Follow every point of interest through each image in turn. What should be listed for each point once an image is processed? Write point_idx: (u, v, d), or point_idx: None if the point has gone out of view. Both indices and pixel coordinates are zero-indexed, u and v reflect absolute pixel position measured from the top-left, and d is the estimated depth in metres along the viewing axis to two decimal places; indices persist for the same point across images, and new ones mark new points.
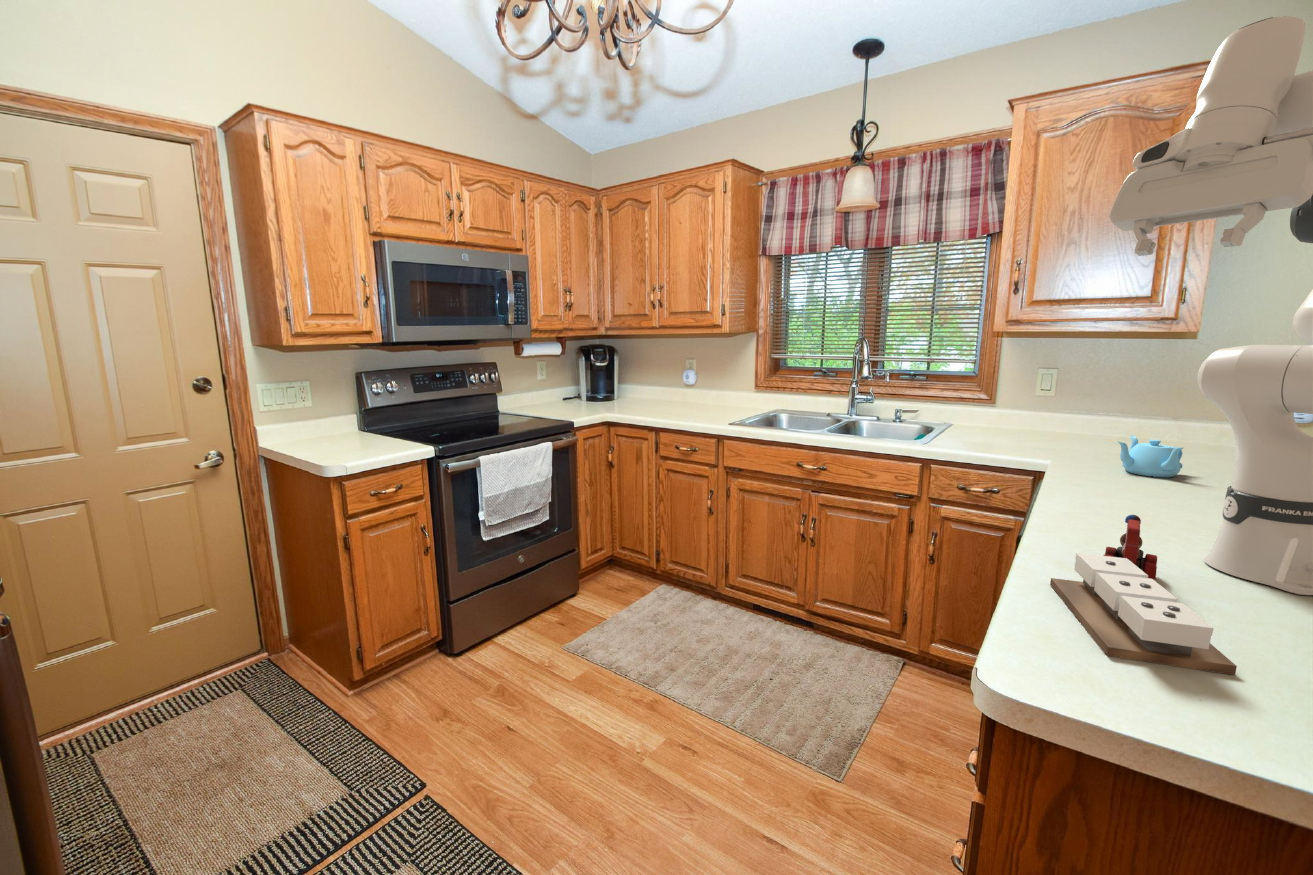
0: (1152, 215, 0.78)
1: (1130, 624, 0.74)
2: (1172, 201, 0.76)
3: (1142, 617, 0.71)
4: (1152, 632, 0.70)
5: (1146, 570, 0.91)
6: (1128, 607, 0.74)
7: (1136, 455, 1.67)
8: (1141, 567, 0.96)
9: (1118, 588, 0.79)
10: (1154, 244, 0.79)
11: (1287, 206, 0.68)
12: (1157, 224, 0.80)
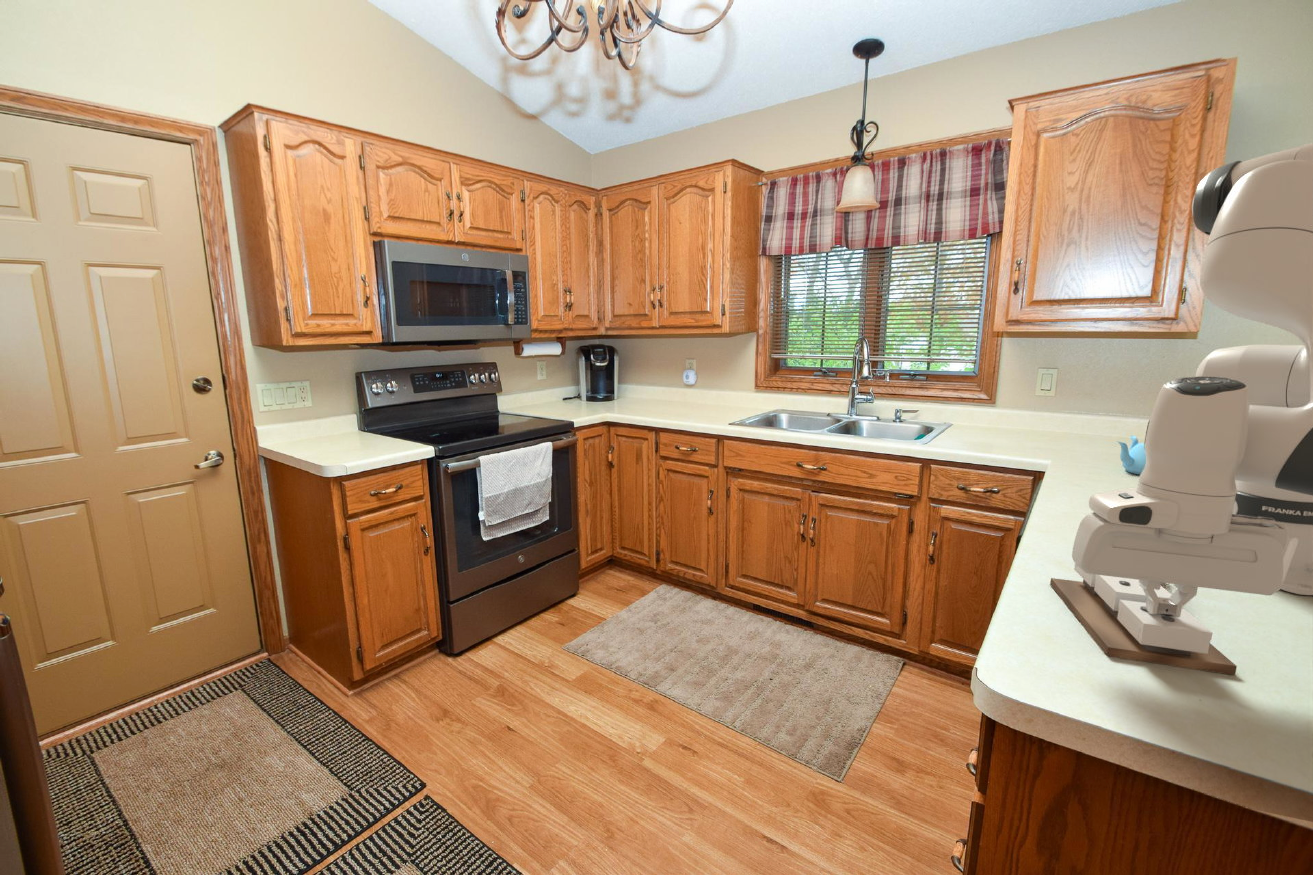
0: (1133, 578, 0.71)
1: (1129, 628, 0.74)
2: (1154, 569, 0.70)
3: (1141, 621, 0.71)
4: (1151, 636, 0.70)
5: None
6: (1127, 611, 0.74)
7: (1136, 455, 1.67)
8: None
9: (1118, 588, 0.79)
10: None
11: None
12: None
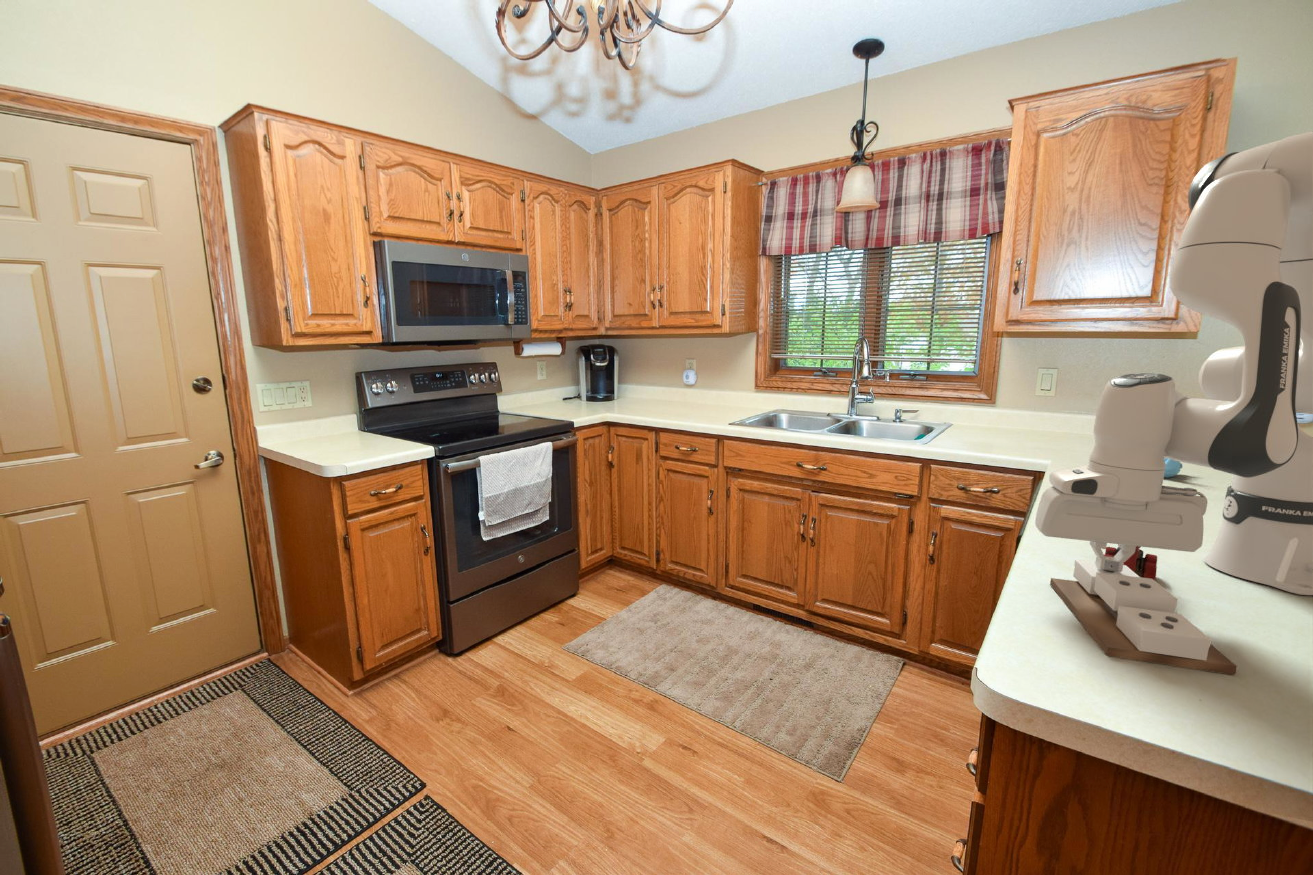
0: (1083, 539, 0.86)
1: (1128, 635, 0.74)
2: (1100, 532, 0.85)
3: (1140, 628, 0.71)
4: (1150, 643, 0.70)
5: (1146, 570, 0.91)
6: (1126, 617, 0.74)
7: None
8: (1141, 567, 0.96)
9: (1118, 588, 0.79)
10: None
11: None
12: None
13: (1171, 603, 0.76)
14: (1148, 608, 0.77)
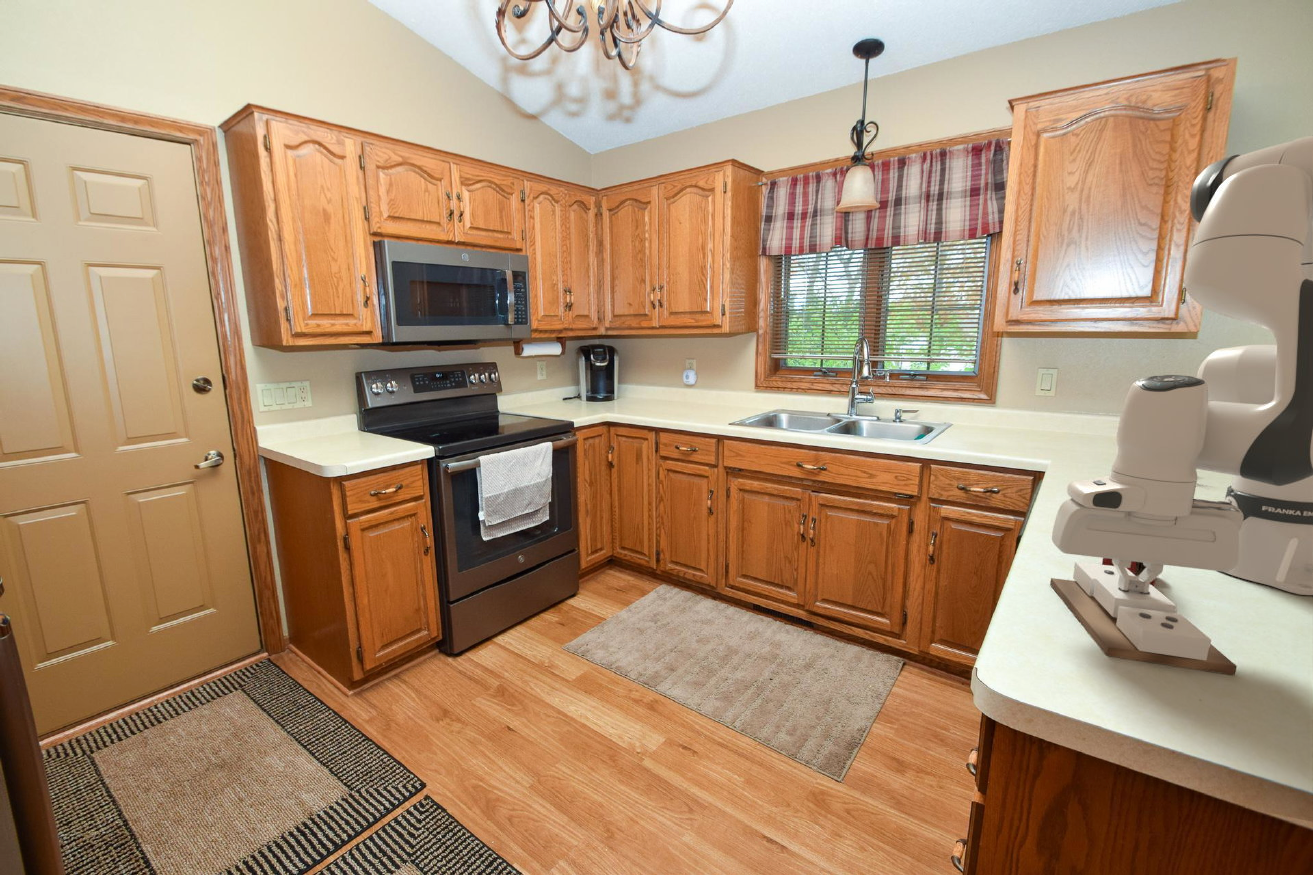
0: (1105, 557, 0.79)
1: (1128, 635, 0.74)
2: (1124, 549, 0.78)
3: (1140, 628, 0.71)
4: (1150, 643, 0.70)
5: None
6: (1126, 617, 0.74)
7: None
8: (1141, 567, 0.96)
9: (1117, 594, 0.79)
10: None
11: None
12: None
13: (1170, 609, 0.76)
14: None
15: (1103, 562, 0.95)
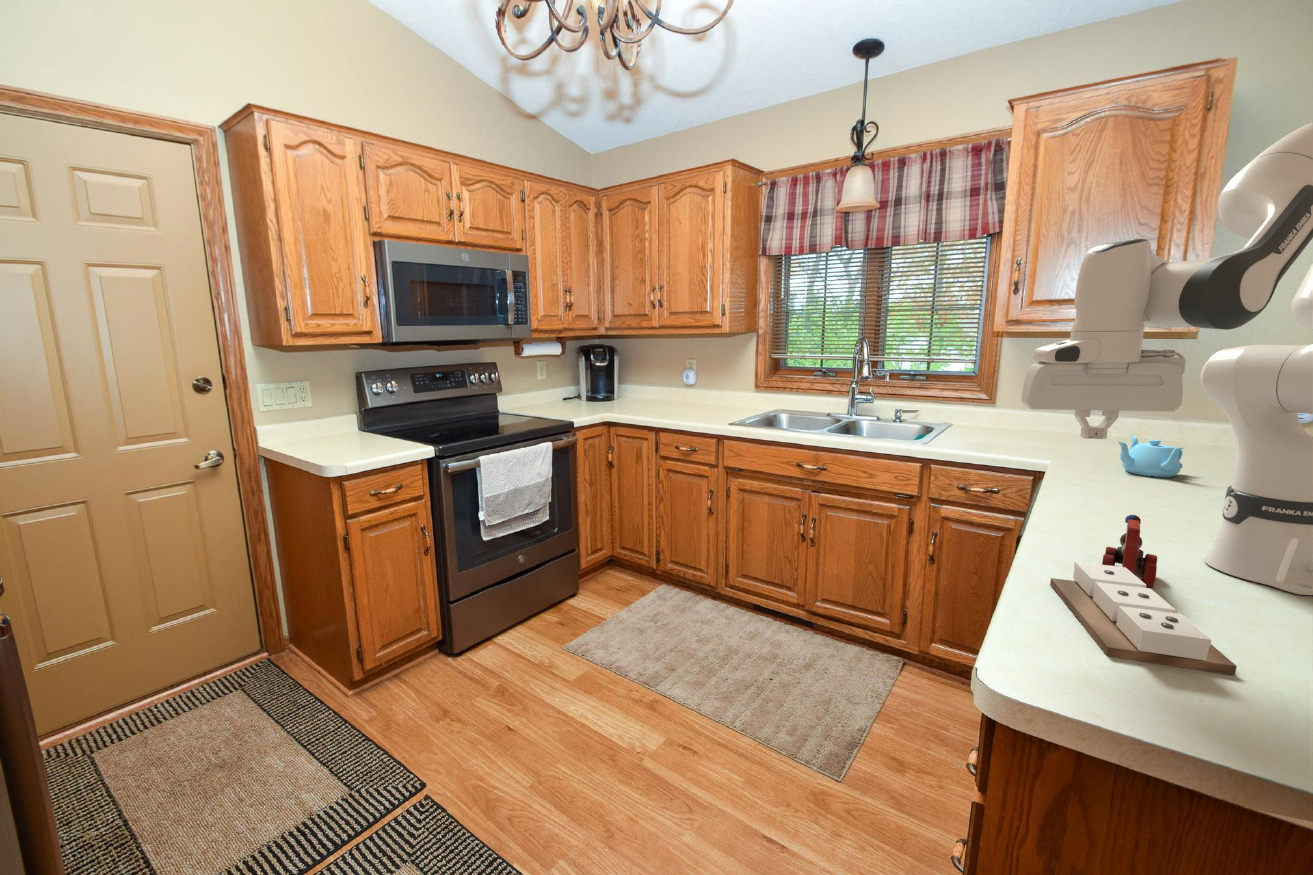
0: (1068, 408, 0.89)
1: (1128, 635, 0.74)
2: (1084, 399, 0.88)
3: (1140, 628, 0.71)
4: (1150, 643, 0.70)
5: (1146, 570, 0.91)
6: (1126, 617, 0.74)
7: (1136, 455, 1.67)
8: (1141, 567, 0.96)
9: (1116, 598, 0.79)
10: None
11: None
12: None
13: None
14: None
15: (1103, 562, 0.95)
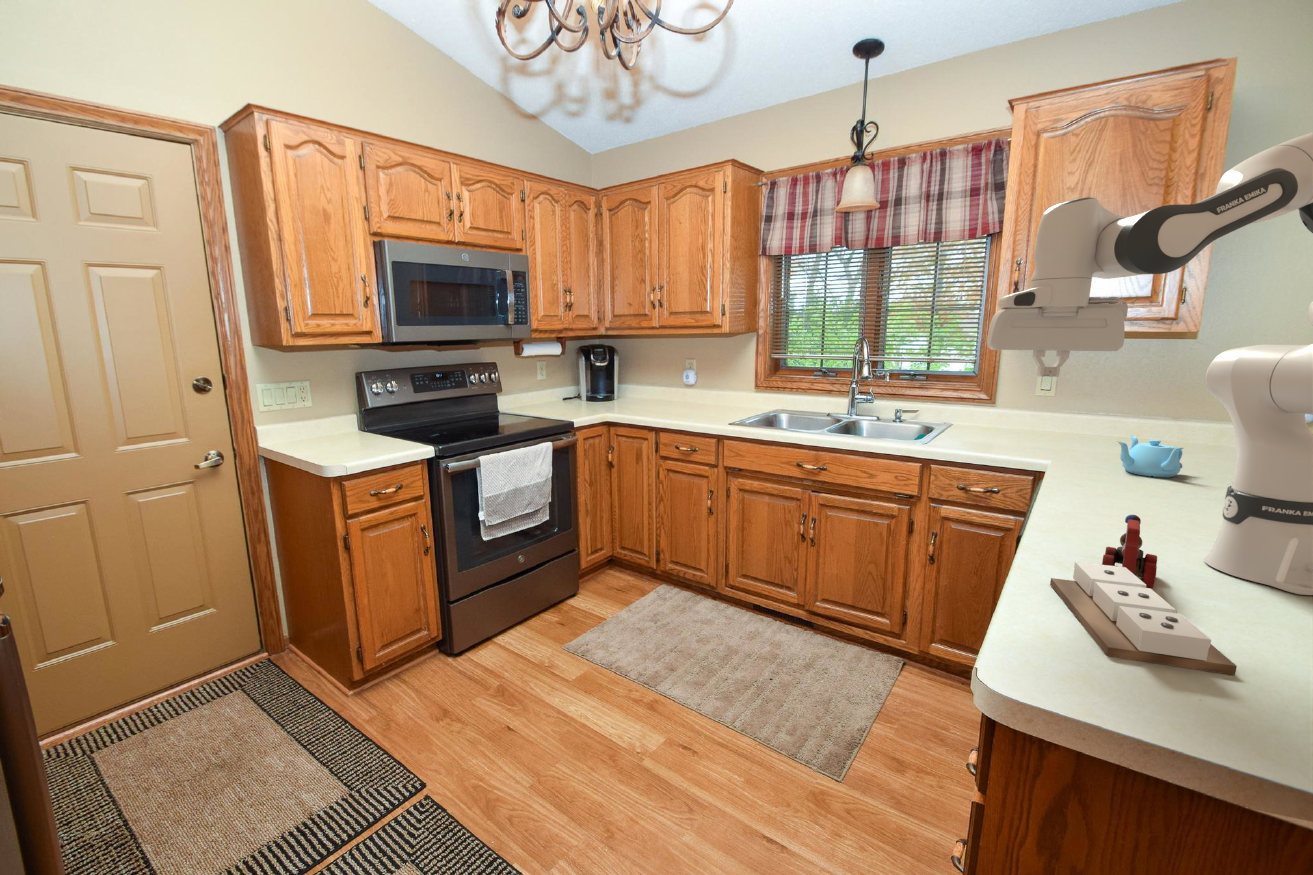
0: (1026, 349, 1.01)
1: (1128, 635, 0.74)
2: (1039, 340, 1.00)
3: (1140, 628, 0.71)
4: (1150, 643, 0.70)
5: (1146, 570, 0.91)
6: (1126, 617, 0.74)
7: (1136, 455, 1.67)
8: (1141, 567, 0.96)
9: (1116, 598, 0.79)
10: None
11: None
12: None
13: None
14: None
15: (1103, 562, 0.95)
